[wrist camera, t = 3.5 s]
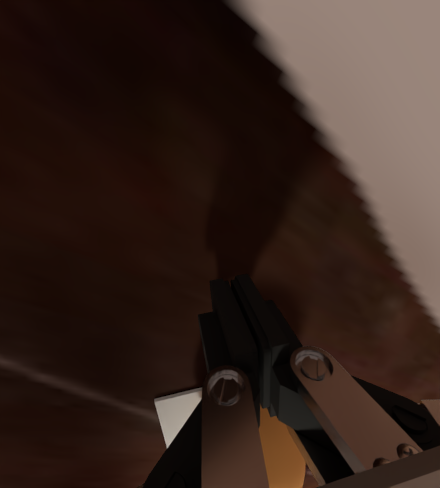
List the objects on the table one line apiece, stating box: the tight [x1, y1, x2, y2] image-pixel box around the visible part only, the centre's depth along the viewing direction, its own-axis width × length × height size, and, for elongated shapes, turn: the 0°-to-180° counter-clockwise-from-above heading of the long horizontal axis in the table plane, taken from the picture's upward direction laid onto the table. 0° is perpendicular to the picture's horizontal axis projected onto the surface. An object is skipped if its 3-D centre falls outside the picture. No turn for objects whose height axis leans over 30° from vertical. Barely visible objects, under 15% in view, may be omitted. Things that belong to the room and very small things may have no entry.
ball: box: [259, 405, 306, 488], centre depth 13 cm, size 6×6×6 cm
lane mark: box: [154, 387, 202, 448], centre depth 19 cm, size 18×9×1 cm, turn 3°
